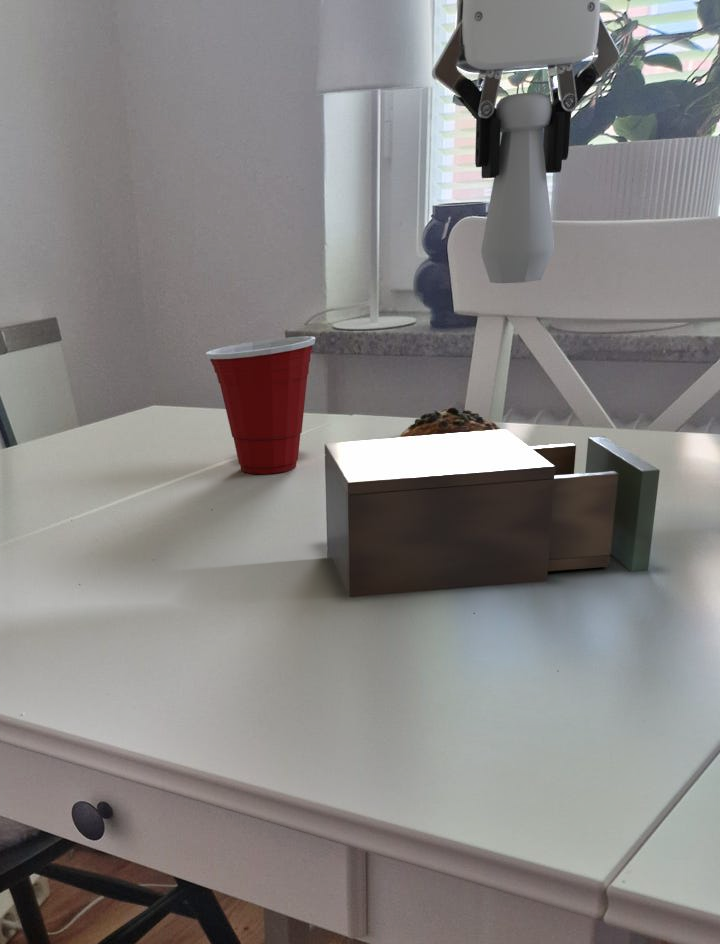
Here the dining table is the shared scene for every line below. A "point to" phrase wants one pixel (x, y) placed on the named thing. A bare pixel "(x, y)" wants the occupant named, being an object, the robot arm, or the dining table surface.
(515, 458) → the cabinet
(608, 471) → the drawer
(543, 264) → the salt shaker
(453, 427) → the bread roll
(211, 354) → the plastic cup
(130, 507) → the dining table surface
